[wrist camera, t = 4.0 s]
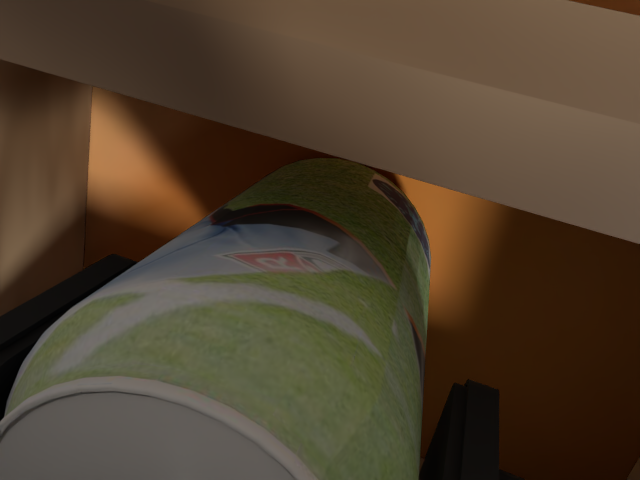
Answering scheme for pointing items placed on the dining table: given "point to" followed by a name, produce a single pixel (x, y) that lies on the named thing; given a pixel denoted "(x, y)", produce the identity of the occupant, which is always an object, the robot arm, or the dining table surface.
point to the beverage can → (243, 346)
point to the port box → (327, 102)
